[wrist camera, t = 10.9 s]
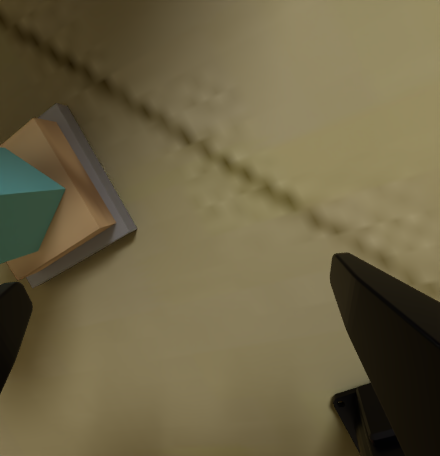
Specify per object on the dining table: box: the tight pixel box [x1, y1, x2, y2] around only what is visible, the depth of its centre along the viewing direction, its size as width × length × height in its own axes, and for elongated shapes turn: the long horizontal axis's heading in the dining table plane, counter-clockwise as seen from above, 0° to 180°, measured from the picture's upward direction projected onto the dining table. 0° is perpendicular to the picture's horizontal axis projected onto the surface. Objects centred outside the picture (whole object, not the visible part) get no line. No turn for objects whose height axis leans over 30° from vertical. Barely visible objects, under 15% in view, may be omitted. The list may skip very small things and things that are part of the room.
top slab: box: [0, 118, 116, 280], centre depth 22 cm, size 8×8×2 cm
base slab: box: [26, 103, 137, 288], centre depth 24 cm, size 10×10×2 cm
